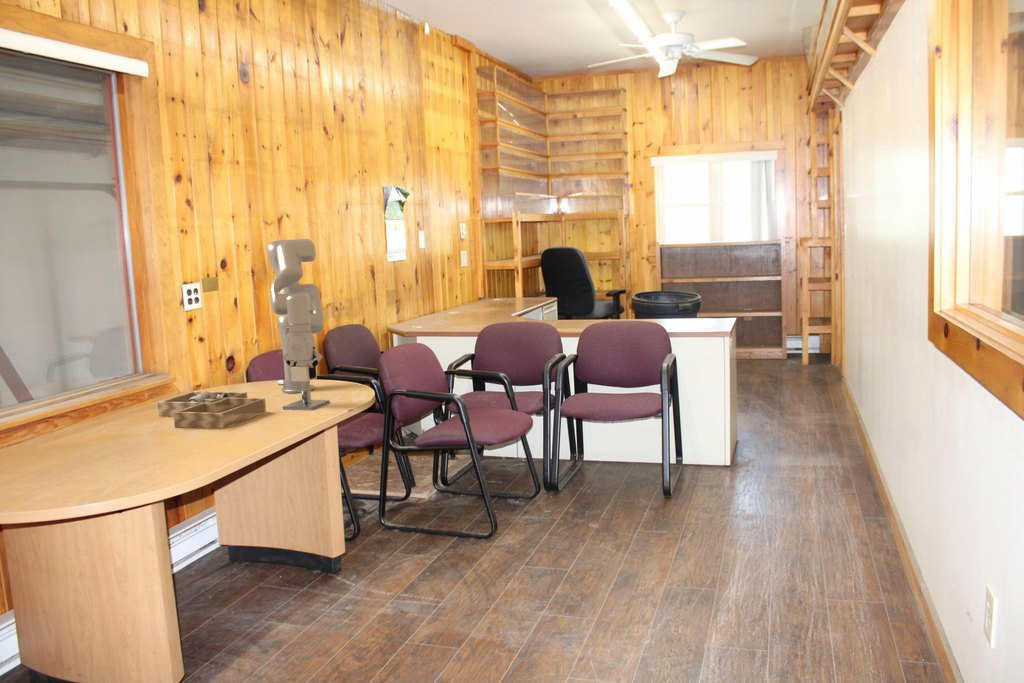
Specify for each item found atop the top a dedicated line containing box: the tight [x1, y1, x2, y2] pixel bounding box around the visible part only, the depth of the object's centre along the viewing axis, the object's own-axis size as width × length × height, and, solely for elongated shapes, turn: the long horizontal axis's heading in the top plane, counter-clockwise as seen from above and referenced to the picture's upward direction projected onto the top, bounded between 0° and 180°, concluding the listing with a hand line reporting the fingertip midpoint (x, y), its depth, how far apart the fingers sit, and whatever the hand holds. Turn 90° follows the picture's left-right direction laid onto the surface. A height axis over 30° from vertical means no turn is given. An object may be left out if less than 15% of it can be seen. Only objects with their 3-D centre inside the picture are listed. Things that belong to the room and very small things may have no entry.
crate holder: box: [157, 391, 248, 417], centre depth 302 cm, size 24×19×5 cm
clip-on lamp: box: [188, 390, 227, 403], centre depth 302 cm, size 12×6×18 cm
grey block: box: [290, 363, 318, 382], centre depth 299 cm, size 6×7×6 cm
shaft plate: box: [282, 390, 331, 411], centre depth 301 cm, size 12×12×6 cm
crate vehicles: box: [173, 397, 267, 430], centre depth 286 cm, size 19×24×5 cm
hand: (304, 377), depth 299 cm, fingers closed on grey block, 6 cm apart
